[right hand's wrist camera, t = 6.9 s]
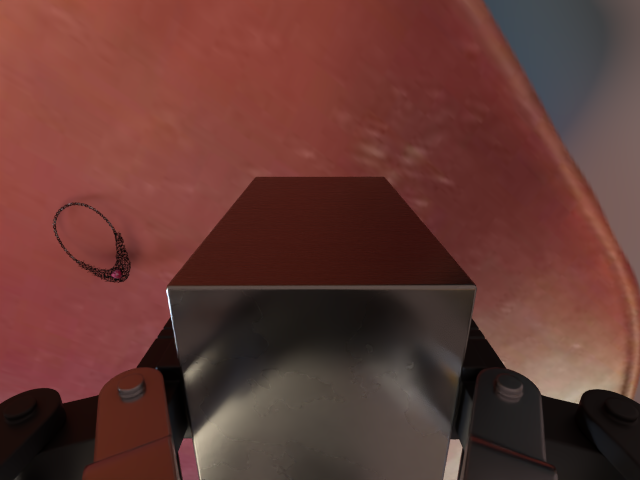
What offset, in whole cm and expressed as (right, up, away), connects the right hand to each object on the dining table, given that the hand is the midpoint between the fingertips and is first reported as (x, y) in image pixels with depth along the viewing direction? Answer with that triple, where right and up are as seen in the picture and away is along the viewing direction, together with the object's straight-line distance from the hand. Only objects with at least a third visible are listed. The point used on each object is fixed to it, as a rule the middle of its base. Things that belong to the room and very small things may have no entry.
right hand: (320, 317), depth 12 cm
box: (0, -7, +10) cm, 12 cm away
